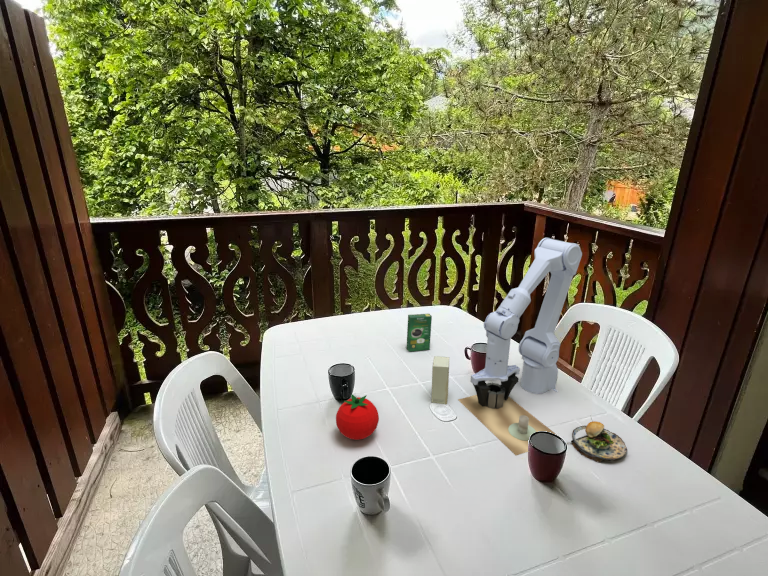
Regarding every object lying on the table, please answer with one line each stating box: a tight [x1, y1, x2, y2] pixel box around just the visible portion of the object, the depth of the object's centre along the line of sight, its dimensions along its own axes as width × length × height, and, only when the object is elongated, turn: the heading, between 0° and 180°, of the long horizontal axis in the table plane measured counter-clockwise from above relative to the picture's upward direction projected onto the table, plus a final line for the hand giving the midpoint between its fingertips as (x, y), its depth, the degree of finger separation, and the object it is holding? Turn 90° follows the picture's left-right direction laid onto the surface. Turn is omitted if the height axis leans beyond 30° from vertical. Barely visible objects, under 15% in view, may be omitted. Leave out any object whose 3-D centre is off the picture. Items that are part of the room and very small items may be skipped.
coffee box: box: [406, 313, 433, 353], centre depth 143 cm, size 8×3×13 cm, turn 103°
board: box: [457, 394, 558, 457], centre depth 106 cm, size 14×24×5 cm, turn 23°
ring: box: [485, 382, 505, 409], centre depth 112 cm, size 6×6×4 cm
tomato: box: [335, 393, 380, 441], centre depth 100 cm, size 10×10×10 cm
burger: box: [570, 414, 628, 464], centre depth 96 cm, size 12×12×8 cm
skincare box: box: [431, 355, 450, 405], centre depth 113 cm, size 6×4×12 cm
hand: (492, 401), depth 112 cm, fingers open, 7 cm apart
